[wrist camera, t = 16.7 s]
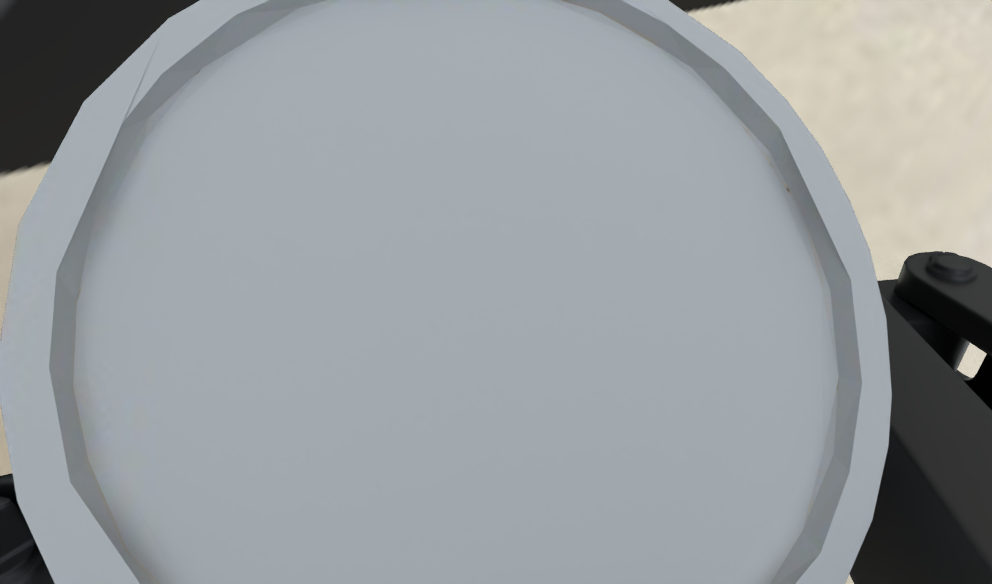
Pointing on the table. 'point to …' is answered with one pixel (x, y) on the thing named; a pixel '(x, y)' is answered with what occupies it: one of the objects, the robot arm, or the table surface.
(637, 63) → the disposable coffee cup
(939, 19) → the table surface
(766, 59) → the table surface
